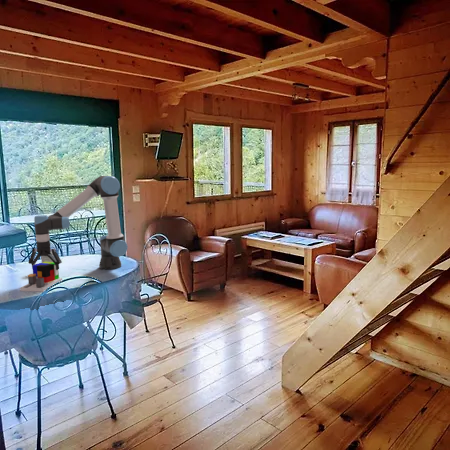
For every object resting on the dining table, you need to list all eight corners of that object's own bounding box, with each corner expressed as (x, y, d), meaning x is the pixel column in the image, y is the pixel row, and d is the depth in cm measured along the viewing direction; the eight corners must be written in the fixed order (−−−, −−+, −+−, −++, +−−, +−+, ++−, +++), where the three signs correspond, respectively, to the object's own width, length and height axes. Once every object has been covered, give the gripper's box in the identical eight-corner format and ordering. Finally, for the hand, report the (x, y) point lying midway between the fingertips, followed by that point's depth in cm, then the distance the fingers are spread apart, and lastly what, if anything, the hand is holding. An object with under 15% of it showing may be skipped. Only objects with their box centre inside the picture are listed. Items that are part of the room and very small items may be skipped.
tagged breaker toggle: (36, 282, 230) (36, 273, 230) (33, 283, 227) (32, 275, 226) (31, 282, 231) (31, 273, 230) (28, 283, 228) (27, 275, 227)
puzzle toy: (33, 281, 233) (32, 265, 232) (46, 277, 243) (44, 261, 241) (46, 282, 230) (45, 266, 229) (59, 278, 239) (57, 262, 238)
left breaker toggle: (44, 285, 224) (43, 277, 224) (41, 286, 221) (40, 279, 221) (39, 285, 225) (38, 277, 224) (36, 286, 222) (35, 279, 221)
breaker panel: (62, 280, 241) (61, 277, 241) (43, 291, 221) (42, 287, 220) (41, 280, 243) (40, 277, 242) (20, 291, 222) (19, 287, 222)
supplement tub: (58, 271, 264) (57, 250, 262) (43, 273, 259) (41, 252, 256) (56, 268, 272) (54, 248, 270) (41, 270, 267) (39, 250, 264)
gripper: (65, 239, 235) (68, 273, 238) (27, 239, 238) (30, 272, 241) (59, 242, 228) (62, 276, 231) (19, 242, 230) (23, 276, 234)
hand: (46, 274), depth 236 cm, fingers open, 13 cm apart
